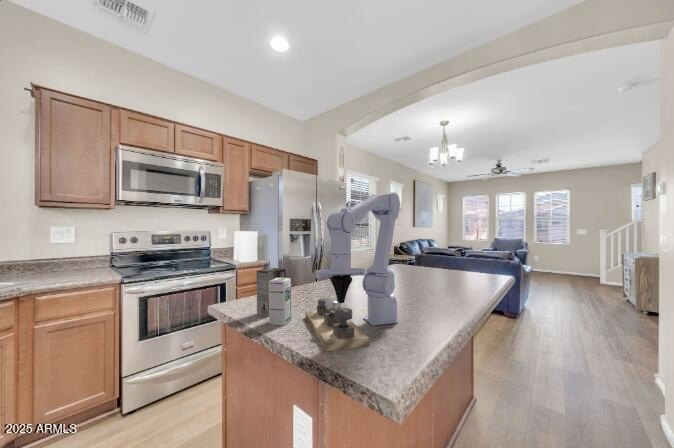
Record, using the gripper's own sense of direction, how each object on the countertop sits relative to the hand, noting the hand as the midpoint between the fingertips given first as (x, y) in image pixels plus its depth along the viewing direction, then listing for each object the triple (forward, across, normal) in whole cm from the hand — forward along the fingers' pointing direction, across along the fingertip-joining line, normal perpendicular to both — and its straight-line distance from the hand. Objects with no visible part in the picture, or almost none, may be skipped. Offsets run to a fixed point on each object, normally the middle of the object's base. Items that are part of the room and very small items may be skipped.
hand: (340, 302), depth 77 cm
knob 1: (+8, -1, -18) cm, 20 cm away
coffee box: (+11, +15, -33) cm, 38 cm away
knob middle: (+6, 0, -8) cm, 10 cm away
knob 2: (+6, 0, +2) cm, 7 cm away
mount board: (+10, 0, -8) cm, 13 cm away
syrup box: (+11, +14, -21) cm, 27 cm away
